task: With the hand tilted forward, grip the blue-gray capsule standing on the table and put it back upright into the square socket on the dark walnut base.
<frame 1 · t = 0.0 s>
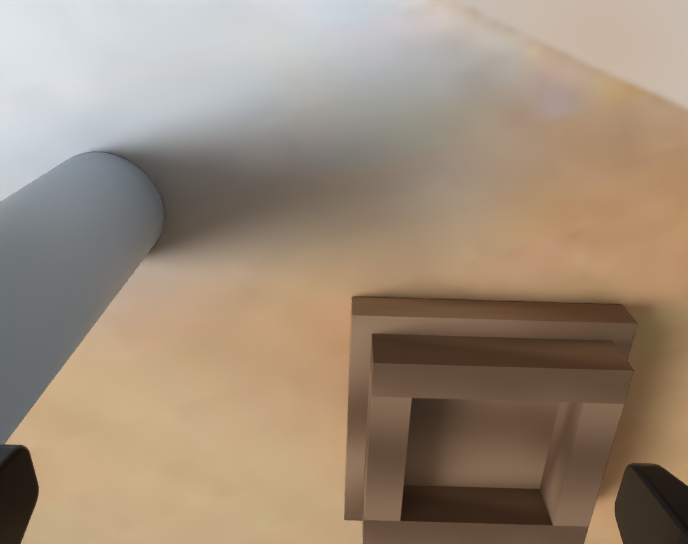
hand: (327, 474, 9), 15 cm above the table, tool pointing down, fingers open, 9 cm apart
blue-gray capsule: (106, 208, 23), on the table
socket base: (470, 408, 27), on the table
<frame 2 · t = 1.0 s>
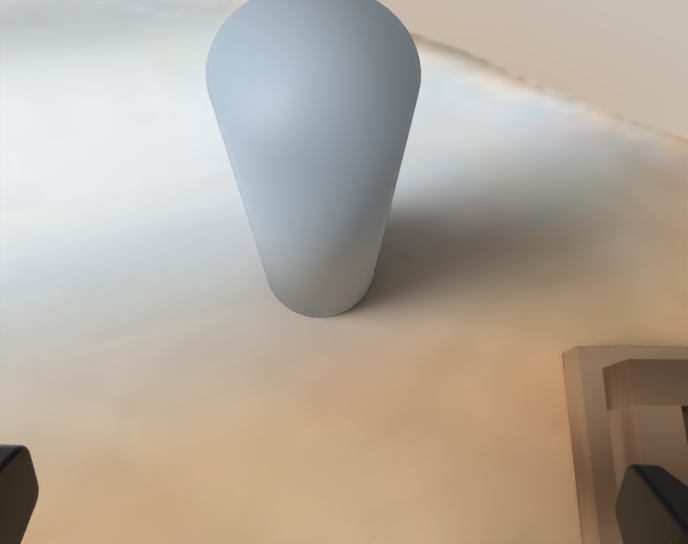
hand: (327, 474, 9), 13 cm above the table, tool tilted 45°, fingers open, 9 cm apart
blue-gray capsule: (320, 264, 24), on the table
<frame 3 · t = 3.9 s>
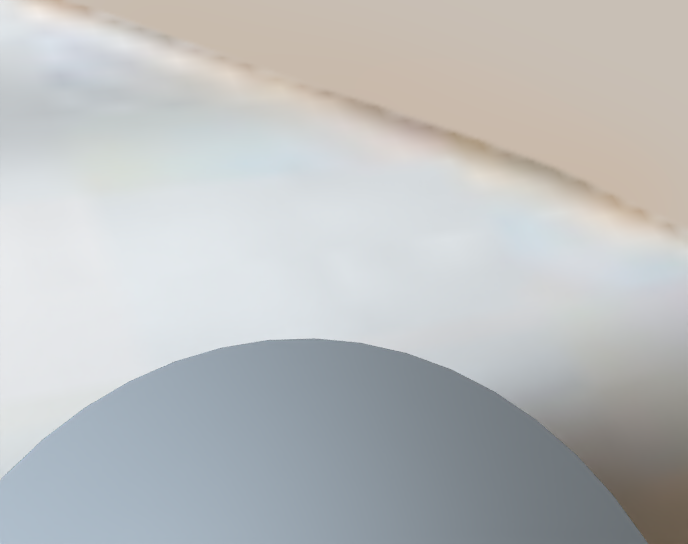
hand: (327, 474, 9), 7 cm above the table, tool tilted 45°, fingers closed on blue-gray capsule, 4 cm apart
blue-gray capsule: (329, 535, 15), on the table, touching gripper
when the fingers open (10 cm above the table, at t = 7.8 s): blue-gray capsule drops 1 cm, resting on socket base.
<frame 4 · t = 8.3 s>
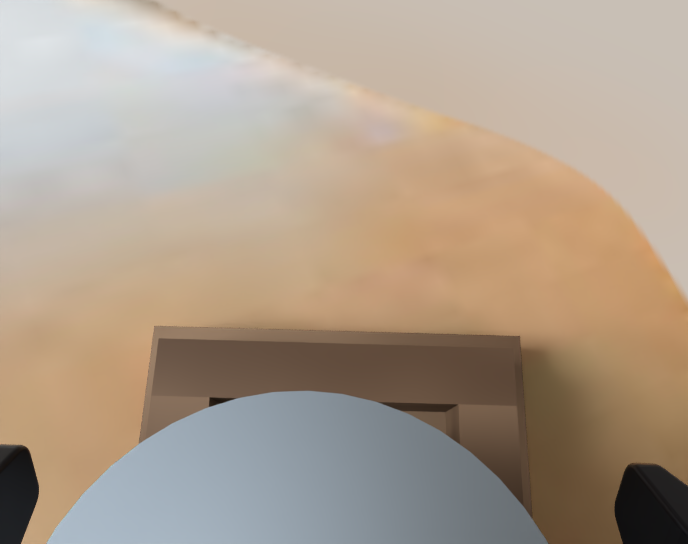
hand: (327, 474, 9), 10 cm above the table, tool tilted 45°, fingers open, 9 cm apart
blue-gray capsule: (329, 532, 16), point 2 cm above the table, touching socket base
socket base: (331, 525, 18), on the table
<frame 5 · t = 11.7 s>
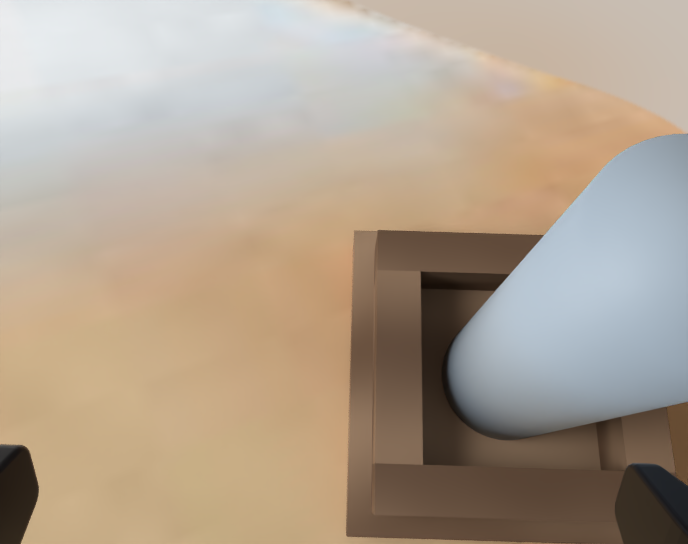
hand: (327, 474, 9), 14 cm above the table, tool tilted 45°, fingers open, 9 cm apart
blue-gray capsule: (502, 377, 22), point 2 cm above the table, touching socket base
socket base: (492, 381, 23), on the table
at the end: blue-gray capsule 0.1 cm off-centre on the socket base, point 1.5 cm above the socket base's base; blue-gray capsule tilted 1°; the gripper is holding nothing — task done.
